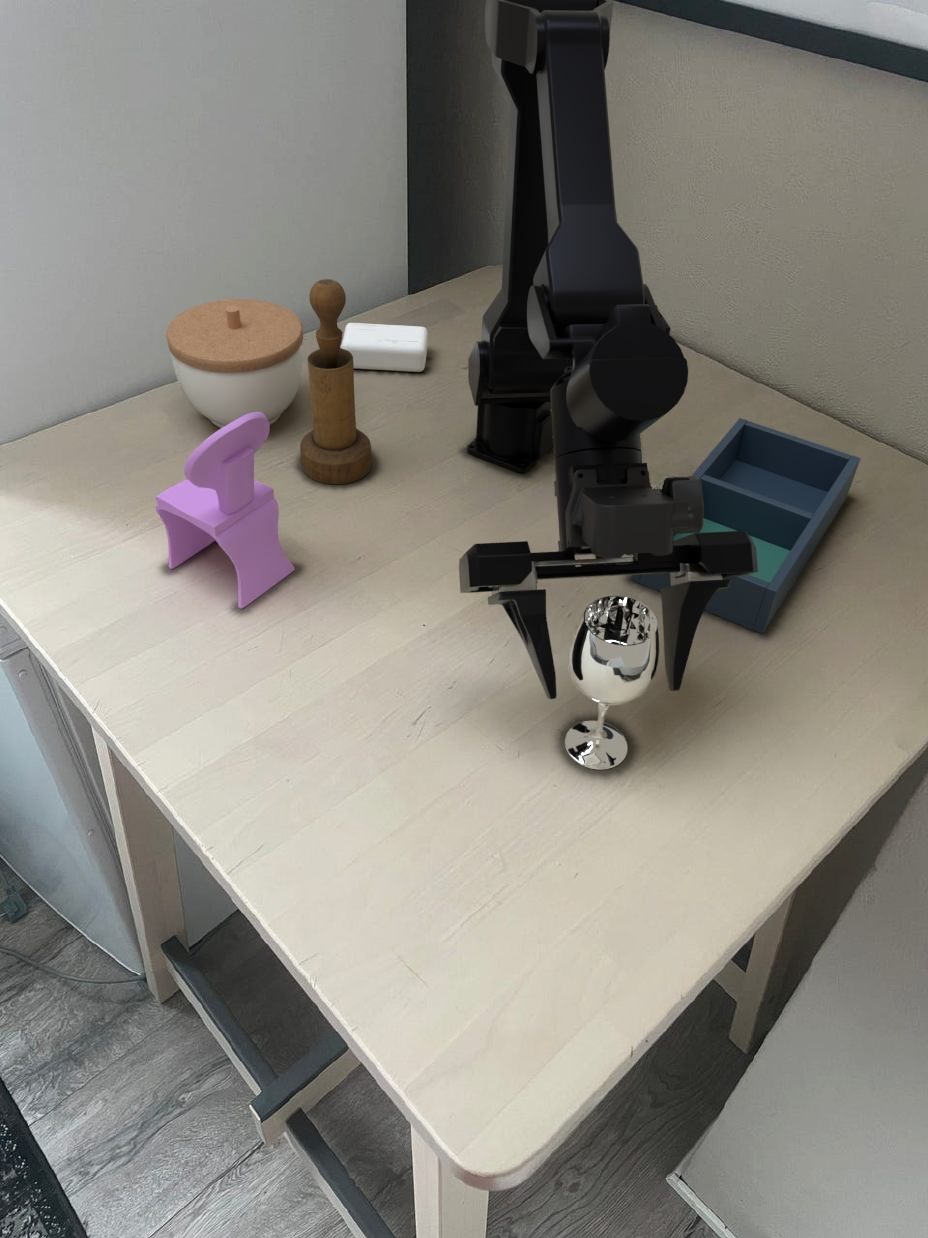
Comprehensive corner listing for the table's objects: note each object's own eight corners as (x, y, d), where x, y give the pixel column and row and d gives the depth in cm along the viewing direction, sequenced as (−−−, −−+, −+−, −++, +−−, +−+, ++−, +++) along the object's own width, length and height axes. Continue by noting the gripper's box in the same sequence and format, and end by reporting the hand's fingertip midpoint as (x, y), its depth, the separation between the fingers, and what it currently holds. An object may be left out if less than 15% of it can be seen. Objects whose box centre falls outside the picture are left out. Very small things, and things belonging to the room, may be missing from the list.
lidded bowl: (196, 457, 97) (178, 350, 89) (168, 392, 105) (150, 289, 97) (325, 432, 101) (318, 328, 93) (288, 371, 109) (279, 271, 101)
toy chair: (228, 523, 89) (205, 368, 79) (303, 563, 86) (290, 406, 76) (155, 571, 84) (120, 412, 74) (232, 616, 81) (207, 455, 71)
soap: (428, 349, 114) (428, 324, 112) (424, 374, 110) (425, 348, 108) (346, 345, 114) (345, 319, 112) (340, 369, 110) (339, 343, 108)
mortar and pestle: (288, 473, 95) (271, 289, 83) (321, 439, 100) (309, 258, 87) (352, 491, 94) (344, 305, 81) (383, 455, 98) (380, 274, 86)
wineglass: (583, 788, 70) (607, 663, 61) (540, 730, 73) (557, 605, 65) (653, 760, 72) (685, 635, 64) (607, 704, 75) (632, 580, 67)
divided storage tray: (630, 580, 86) (638, 537, 83) (729, 457, 100) (739, 417, 97) (762, 634, 82) (776, 591, 79) (846, 498, 96) (860, 457, 93)
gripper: (472, 435, 58) (489, 710, 58) (785, 424, 61) (805, 688, 60) (452, 471, 69) (466, 702, 69) (717, 461, 72) (733, 684, 71)
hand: (613, 694), depth 67 cm, fingers open, 8 cm apart
